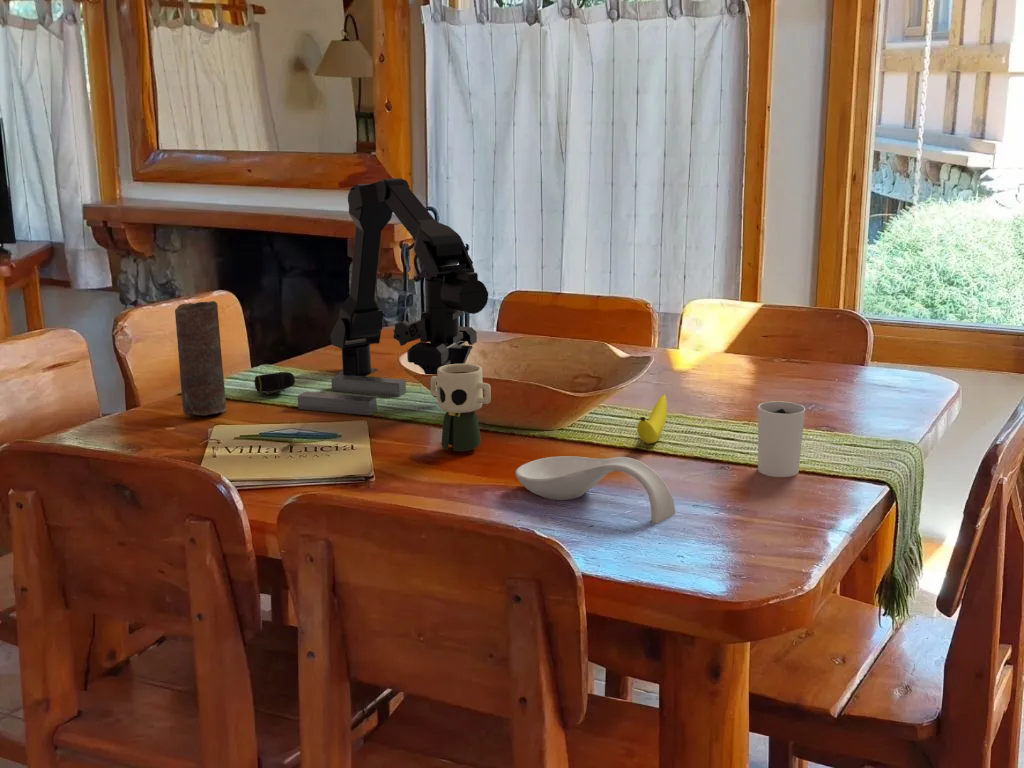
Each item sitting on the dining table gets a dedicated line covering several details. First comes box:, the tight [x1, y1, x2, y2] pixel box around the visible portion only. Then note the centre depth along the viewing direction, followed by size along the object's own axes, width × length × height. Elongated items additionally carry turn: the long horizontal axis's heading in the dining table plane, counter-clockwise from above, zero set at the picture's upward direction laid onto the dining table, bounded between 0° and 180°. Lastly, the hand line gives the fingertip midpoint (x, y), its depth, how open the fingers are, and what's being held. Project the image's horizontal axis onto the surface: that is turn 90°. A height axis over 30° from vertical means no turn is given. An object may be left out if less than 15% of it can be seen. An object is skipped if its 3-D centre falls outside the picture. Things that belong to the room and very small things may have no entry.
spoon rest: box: [515, 455, 676, 524], centre depth 147 cm, size 24×12×7 cm, turn 51°
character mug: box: [429, 363, 492, 452], centre depth 169 cm, size 11×7×13 cm, turn 60°
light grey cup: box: [757, 400, 806, 478], centre depth 157 cm, size 7×7×10 cm
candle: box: [174, 300, 227, 417], centre depth 188 cm, size 8×7×20 cm
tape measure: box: [253, 371, 296, 395], centre depth 203 cm, size 7×7×4 cm
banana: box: [636, 394, 668, 445], centre depth 174 cm, size 3×19×6 cm, turn 162°
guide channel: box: [297, 375, 407, 416], centre depth 199 cm, size 16×14×2 cm
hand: (444, 391), depth 193 cm, fingers open, 7 cm apart
